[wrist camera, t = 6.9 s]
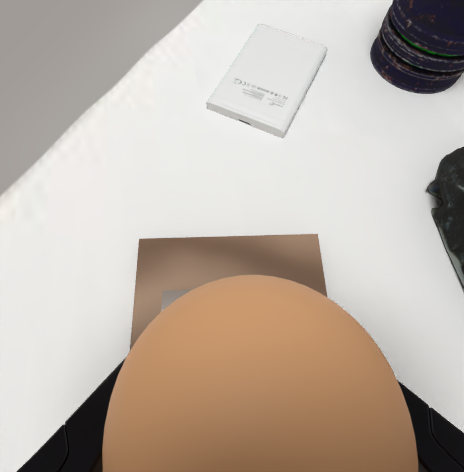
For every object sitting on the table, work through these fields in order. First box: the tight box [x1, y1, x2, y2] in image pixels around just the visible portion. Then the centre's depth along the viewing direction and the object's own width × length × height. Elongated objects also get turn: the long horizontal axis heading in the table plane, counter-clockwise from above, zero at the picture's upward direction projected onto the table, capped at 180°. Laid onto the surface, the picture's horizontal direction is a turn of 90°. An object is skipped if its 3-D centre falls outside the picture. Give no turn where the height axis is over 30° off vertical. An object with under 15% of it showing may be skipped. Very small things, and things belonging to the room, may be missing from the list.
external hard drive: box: [206, 24, 327, 138], centre depth 29 cm, size 2×8×12 cm
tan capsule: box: [102, 275, 418, 472], centre depth 9 cm, size 5×5×13 cm
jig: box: [130, 234, 327, 350], centre depth 19 cm, size 18×14×3 cm
